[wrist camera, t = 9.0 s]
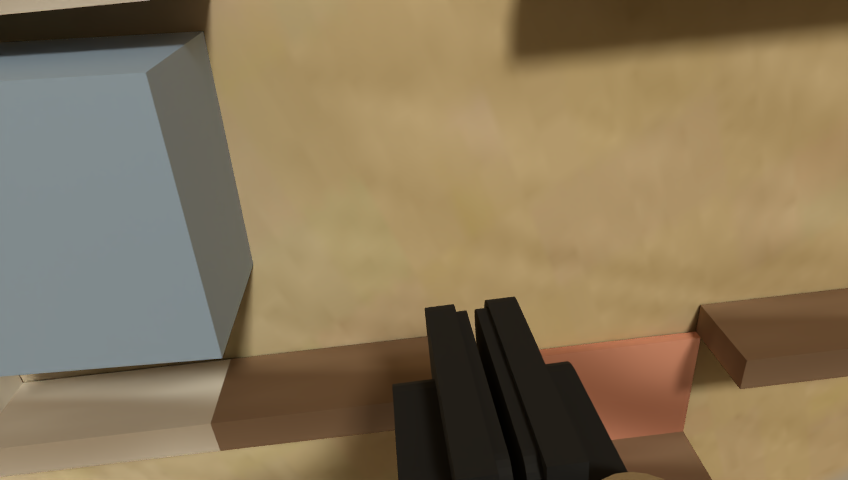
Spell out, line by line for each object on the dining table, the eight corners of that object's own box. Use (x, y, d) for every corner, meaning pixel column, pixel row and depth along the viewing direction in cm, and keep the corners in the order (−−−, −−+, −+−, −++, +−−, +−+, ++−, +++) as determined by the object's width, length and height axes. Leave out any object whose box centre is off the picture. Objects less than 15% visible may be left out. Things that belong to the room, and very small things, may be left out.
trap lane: (844, 420, 21) (900, 480, 18) (64, 514, 20) (26, 589, 18) (1185, -491, 10) (1409, -602, 8) (-458, -360, 9) (-712, -443, 7)
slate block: (254, 261, 16) (222, 358, 13) (26, 277, 16) (-72, 382, 12) (205, 29, 13) (145, 72, 10) (-76, 45, 13) (-243, 95, 9)
